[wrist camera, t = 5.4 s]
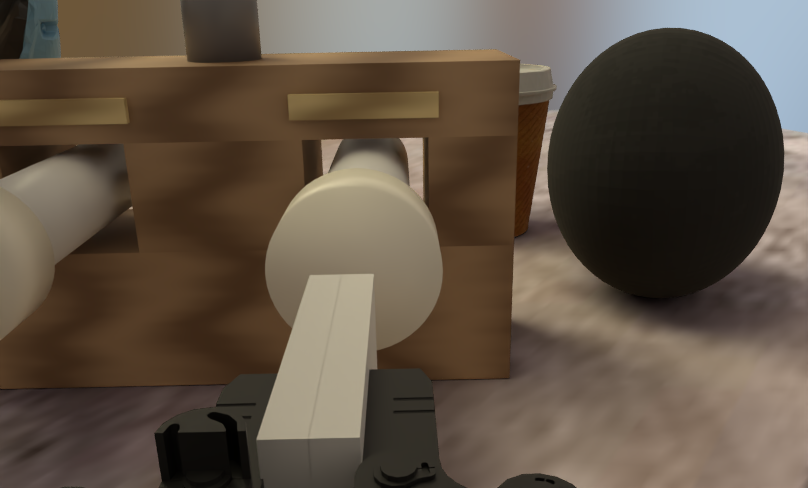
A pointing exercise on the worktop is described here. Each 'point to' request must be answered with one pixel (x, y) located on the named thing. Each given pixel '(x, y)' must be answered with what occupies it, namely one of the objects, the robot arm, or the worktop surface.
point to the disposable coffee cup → (530, 136)
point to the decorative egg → (665, 163)
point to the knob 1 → (54, 220)
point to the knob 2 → (361, 238)
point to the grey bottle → (221, 30)
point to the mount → (254, 206)
